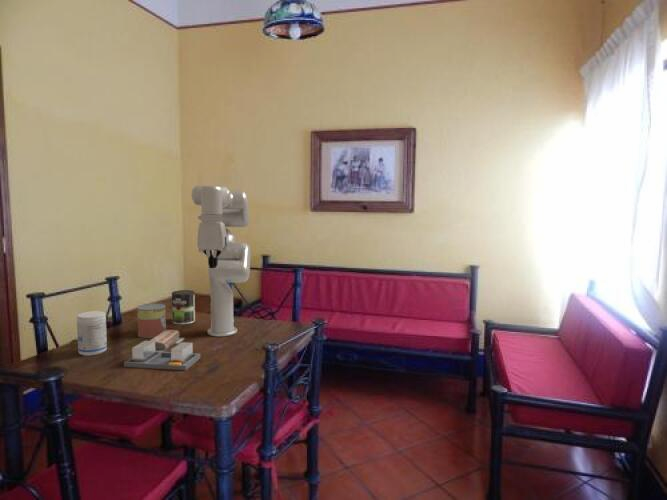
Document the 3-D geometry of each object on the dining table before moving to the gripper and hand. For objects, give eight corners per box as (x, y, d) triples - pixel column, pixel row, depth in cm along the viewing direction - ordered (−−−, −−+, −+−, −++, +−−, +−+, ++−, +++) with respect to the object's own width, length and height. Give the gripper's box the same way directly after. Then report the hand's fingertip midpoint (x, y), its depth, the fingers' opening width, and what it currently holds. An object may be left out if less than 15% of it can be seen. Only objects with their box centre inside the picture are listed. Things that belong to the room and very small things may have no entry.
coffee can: (189, 325, 205) (188, 295, 204) (168, 323, 207) (167, 293, 205) (199, 319, 215) (198, 290, 214) (179, 318, 217) (178, 289, 216)
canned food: (162, 337, 187) (161, 309, 186) (134, 338, 186) (133, 309, 184) (168, 329, 198) (168, 302, 197) (142, 330, 197) (141, 303, 195)
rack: (142, 356, 164) (142, 349, 164) (200, 359, 162) (200, 352, 161) (123, 369, 152) (123, 360, 152) (185, 372, 150) (185, 364, 149)
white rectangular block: (182, 358, 160) (181, 342, 160) (192, 359, 160) (192, 342, 159) (171, 366, 153) (170, 349, 152) (182, 367, 152) (182, 350, 151)
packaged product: (160, 328, 185) (184, 329, 184) (161, 339, 186) (184, 340, 185) (139, 342, 167) (165, 343, 167) (140, 354, 168) (165, 355, 167)
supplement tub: (74, 352, 168) (72, 314, 166) (100, 346, 175) (98, 309, 174) (85, 358, 162) (83, 318, 160) (111, 351, 169) (110, 313, 167)
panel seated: (145, 356, 162) (144, 340, 161) (155, 357, 161) (155, 341, 161) (132, 364, 154) (132, 347, 153) (143, 365, 154) (143, 348, 153)
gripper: (188, 219, 164) (189, 268, 166) (228, 219, 162) (228, 269, 164) (197, 218, 171) (198, 265, 173) (234, 219, 170) (235, 266, 172)
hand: (213, 267), depth 169 cm, fingers closed
